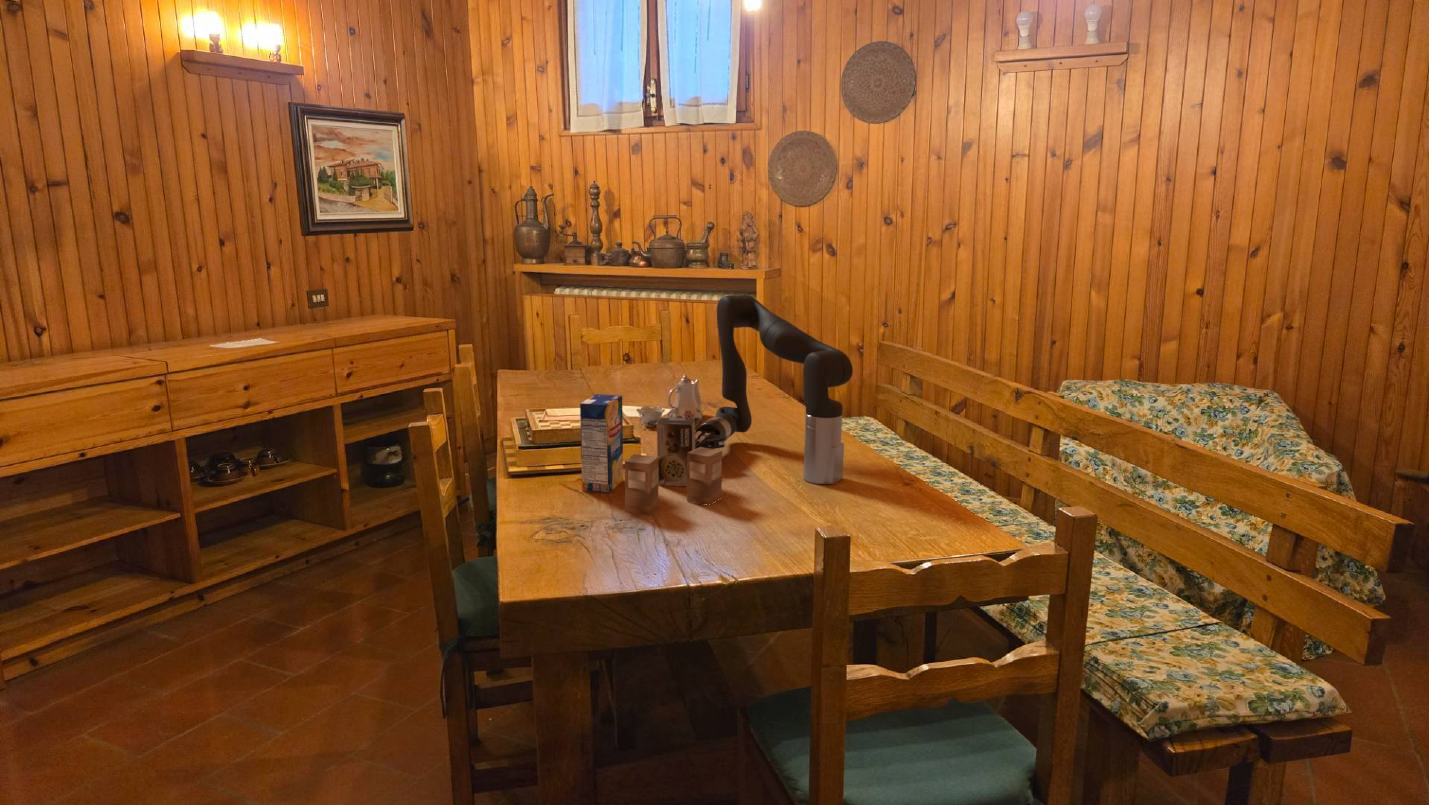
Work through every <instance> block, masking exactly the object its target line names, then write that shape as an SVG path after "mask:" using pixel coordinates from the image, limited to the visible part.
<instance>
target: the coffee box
mask: <svg viewBox="0 0 1429 805" xmlns="http://www.w3.org/2000/svg"><path fill="white" fill-rule="evenodd" d="M695 432H696V426H695V419H693V418H668V417H661V418H660V420H659V422H658V423H656V450H657V451H656V453H657V454H656V455H657V456H656V457H658V466H659V483H658V486H665V487H666V486H669V487H670V486H671V487H672V486H673V487H687V453H688V452H690V451H692V450H695Z"/></svg>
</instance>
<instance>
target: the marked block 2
mask: <svg viewBox="0 0 1429 805" xmlns="http://www.w3.org/2000/svg"><path fill="white" fill-rule="evenodd" d="M722 473H723V450H719V449H710V448H704V447H699V448H697V449H695V450H692V451H690V452H688V453H687V486H686V502H687V501H690V502H689V503H692V502H695V503H694V504H697V503H699V504H698V505H702V504H707V505H709V504H711V505H713V504H714V503H713V502H715V501H717V502H718V499H720V498H722V496H723V495H722V492H723V489H722V486H723V483H722V481H723V480H722V479H723V477H722V476H723V474H722ZM720 500H721V499H720ZM712 503H713V504H712ZM715 503H716V502H715ZM707 505H706V506H707ZM709 506H710V505H709Z"/></svg>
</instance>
